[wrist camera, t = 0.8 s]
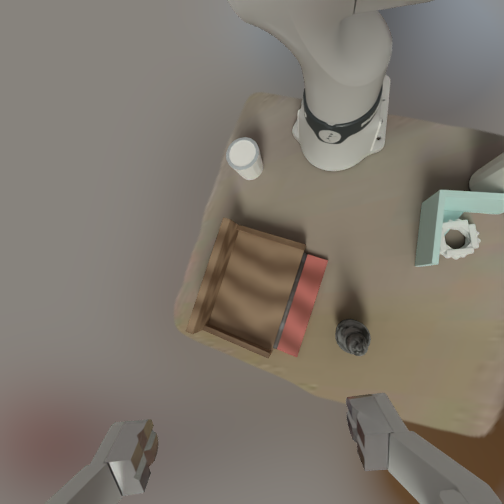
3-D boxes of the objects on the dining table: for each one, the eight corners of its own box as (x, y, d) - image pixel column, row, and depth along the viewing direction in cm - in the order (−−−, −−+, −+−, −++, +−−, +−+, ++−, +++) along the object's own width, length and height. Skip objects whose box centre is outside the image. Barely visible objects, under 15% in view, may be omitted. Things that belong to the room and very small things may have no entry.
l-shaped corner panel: (414, 266, 48) (431, 263, 40) (421, 203, 48) (440, 189, 41) (492, 276, 45) (526, 275, 37) (498, 208, 45) (532, 195, 38)
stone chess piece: (328, 335, 50) (330, 352, 39) (345, 311, 50) (354, 320, 38) (355, 355, 49) (366, 379, 37) (373, 330, 48) (390, 346, 37)
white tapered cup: (246, 148, 59) (237, 131, 52) (271, 160, 57) (265, 144, 50) (231, 174, 59) (219, 161, 52) (255, 187, 57) (247, 175, 50)
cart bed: (236, 225, 57) (223, 217, 50) (330, 253, 52) (332, 249, 44) (203, 324, 57) (185, 331, 49) (295, 363, 51) (290, 378, 43)
